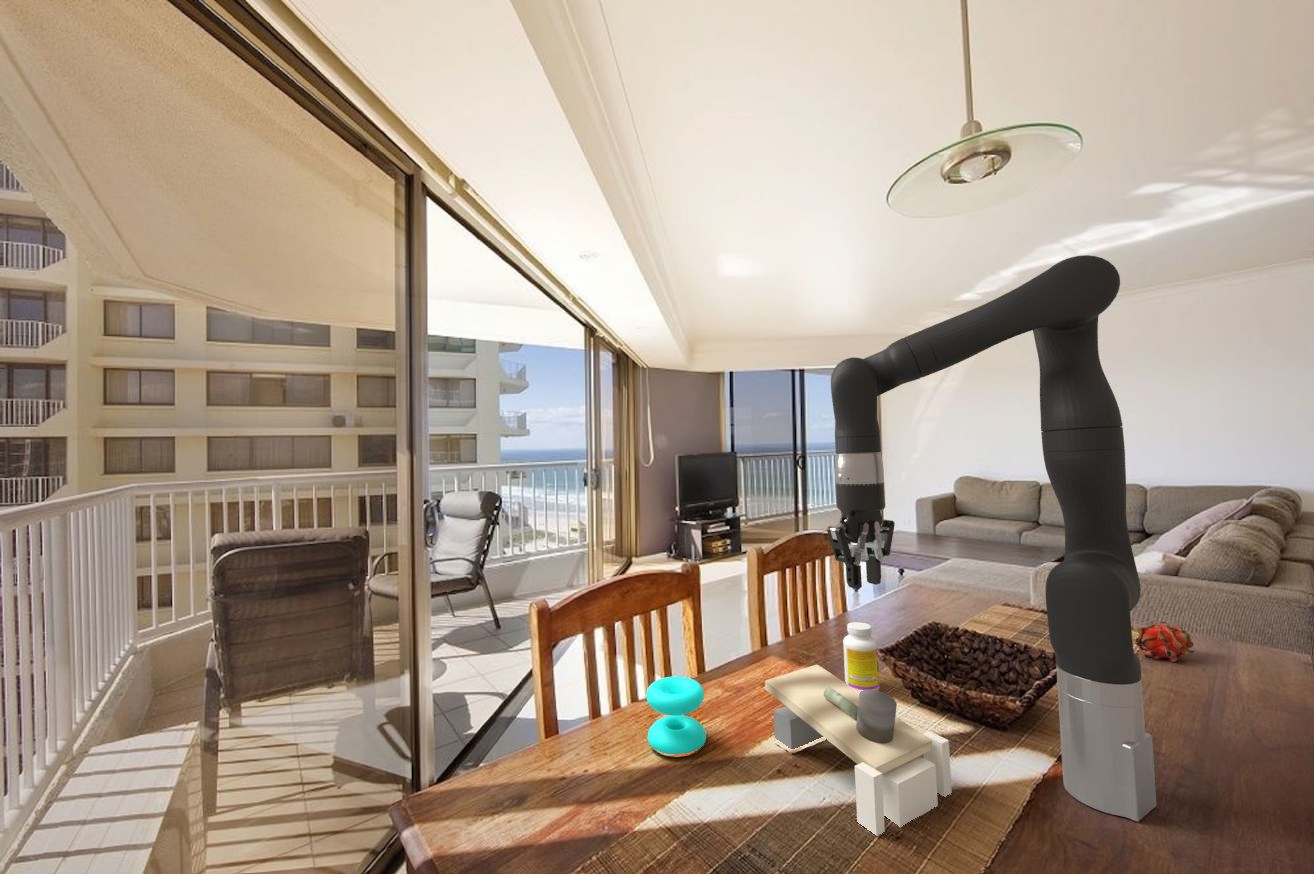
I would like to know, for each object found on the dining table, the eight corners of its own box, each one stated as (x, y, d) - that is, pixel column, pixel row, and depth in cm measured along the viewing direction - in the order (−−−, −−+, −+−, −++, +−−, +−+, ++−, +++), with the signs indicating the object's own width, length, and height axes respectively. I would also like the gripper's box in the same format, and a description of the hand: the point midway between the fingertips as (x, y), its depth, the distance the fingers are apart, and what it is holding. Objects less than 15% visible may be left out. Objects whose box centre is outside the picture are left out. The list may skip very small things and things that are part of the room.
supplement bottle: (885, 695, 106) (881, 630, 107) (851, 696, 106) (848, 631, 107) (872, 680, 113) (869, 619, 113) (840, 681, 113) (838, 620, 114)
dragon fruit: (1197, 665, 118) (1146, 676, 118) (1162, 632, 125) (1113, 642, 125) (1215, 642, 113) (1162, 654, 113) (1177, 609, 120) (1127, 620, 120)
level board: (930, 750, 76) (935, 708, 75) (874, 777, 70) (879, 732, 70) (816, 671, 95) (819, 637, 94) (764, 688, 89) (767, 652, 89)
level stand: (955, 795, 75) (952, 741, 76) (879, 839, 67) (876, 779, 68) (825, 723, 96) (823, 681, 96) (756, 750, 88) (754, 705, 89)
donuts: (692, 670, 98) (712, 693, 88) (694, 725, 97) (715, 754, 88) (639, 678, 95) (654, 703, 86) (642, 735, 95) (656, 766, 85)
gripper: (847, 484, 81) (853, 597, 80) (907, 478, 88) (913, 583, 87) (810, 482, 87) (815, 587, 87) (869, 477, 94) (874, 575, 94)
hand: (864, 584), depth 87 cm, fingers open, 4 cm apart
